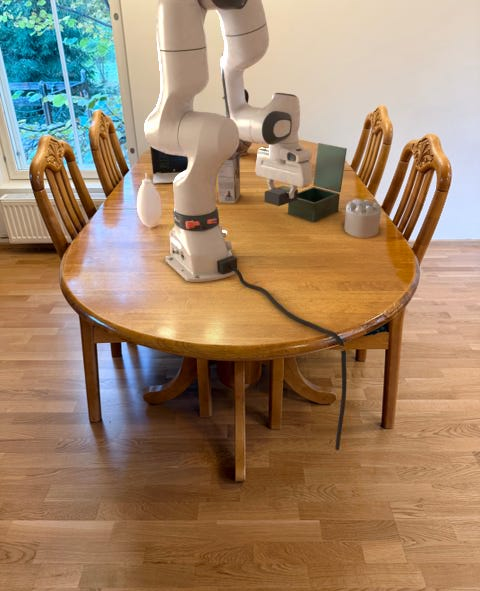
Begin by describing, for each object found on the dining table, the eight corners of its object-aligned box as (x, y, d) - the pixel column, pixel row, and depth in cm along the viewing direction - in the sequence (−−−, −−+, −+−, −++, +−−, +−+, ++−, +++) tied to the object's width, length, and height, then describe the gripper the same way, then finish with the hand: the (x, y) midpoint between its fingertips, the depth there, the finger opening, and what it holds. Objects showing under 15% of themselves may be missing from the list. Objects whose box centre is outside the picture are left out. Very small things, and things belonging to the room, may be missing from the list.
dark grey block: (278, 206, 150) (279, 195, 148) (264, 201, 153) (264, 190, 152) (297, 199, 155) (298, 189, 154) (283, 195, 159) (283, 185, 157)
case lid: (345, 148, 157) (354, 147, 161) (318, 143, 164) (326, 142, 167) (339, 192, 164) (347, 190, 167) (313, 185, 171) (321, 183, 174)
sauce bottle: (140, 232, 154) (133, 176, 145) (138, 223, 160) (131, 169, 151) (165, 229, 155) (160, 173, 146) (162, 220, 162) (157, 166, 153)
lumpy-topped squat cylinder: (376, 222, 158) (379, 196, 154) (379, 238, 147) (383, 211, 143) (343, 221, 160) (346, 195, 155) (344, 237, 149) (347, 209, 144)
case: (313, 222, 159) (315, 203, 156) (287, 213, 166) (288, 196, 163) (338, 211, 168) (339, 193, 164) (312, 203, 174) (313, 186, 171)
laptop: (152, 184, 196) (149, 151, 189) (153, 175, 207) (149, 144, 200) (197, 182, 198) (195, 149, 191) (195, 173, 209) (193, 142, 202)
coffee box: (223, 194, 184) (222, 151, 176) (240, 195, 183) (240, 152, 175) (218, 202, 177) (216, 158, 169) (235, 203, 176) (234, 158, 167)
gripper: (251, 146, 151) (250, 190, 158) (303, 158, 139) (300, 205, 145) (264, 143, 155) (263, 186, 162) (316, 154, 143) (313, 200, 149)
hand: (281, 195), depth 154 cm, fingers closed on dark grey block, 6 cm apart
